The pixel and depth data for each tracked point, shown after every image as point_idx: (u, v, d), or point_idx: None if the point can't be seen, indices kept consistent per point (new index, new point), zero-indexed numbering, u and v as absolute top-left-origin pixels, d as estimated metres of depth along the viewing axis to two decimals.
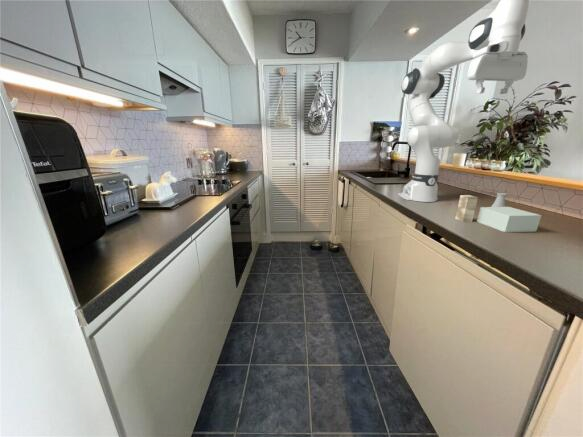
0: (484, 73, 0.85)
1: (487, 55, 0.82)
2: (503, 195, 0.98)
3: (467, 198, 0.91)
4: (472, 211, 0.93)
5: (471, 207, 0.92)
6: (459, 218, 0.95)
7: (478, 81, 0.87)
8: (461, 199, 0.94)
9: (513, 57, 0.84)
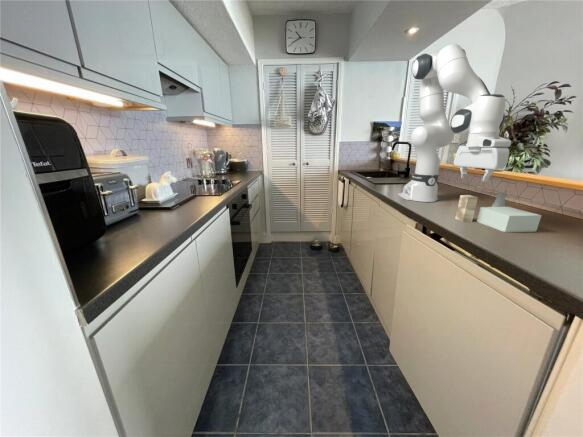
0: None
1: None
2: (503, 195, 0.98)
3: (467, 198, 0.91)
4: (472, 211, 0.93)
5: (471, 207, 0.92)
6: (459, 218, 0.95)
7: (491, 171, 0.83)
8: (461, 199, 0.94)
9: None
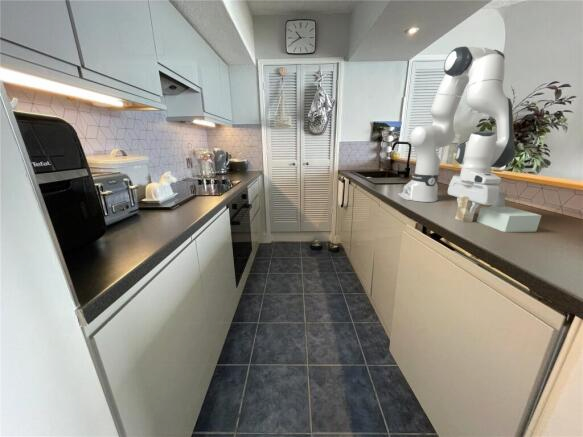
0: None
1: None
2: (503, 195, 0.98)
3: (467, 198, 0.91)
4: None
5: None
6: (459, 218, 0.95)
7: (477, 203, 0.89)
8: (461, 199, 0.94)
9: None
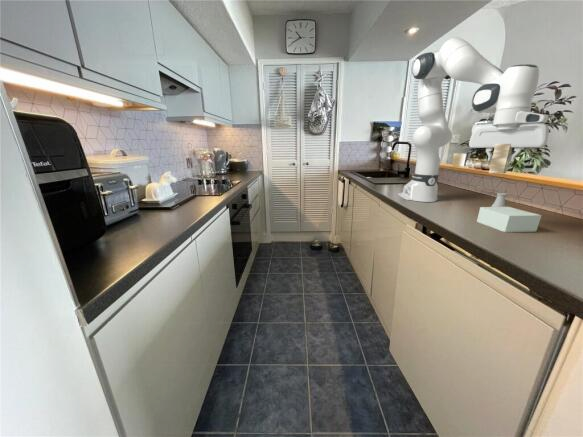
0: None
1: None
2: (503, 195, 0.98)
3: (508, 145, 0.79)
4: None
5: None
6: (497, 170, 0.82)
7: (520, 149, 0.79)
8: (497, 148, 0.81)
9: None
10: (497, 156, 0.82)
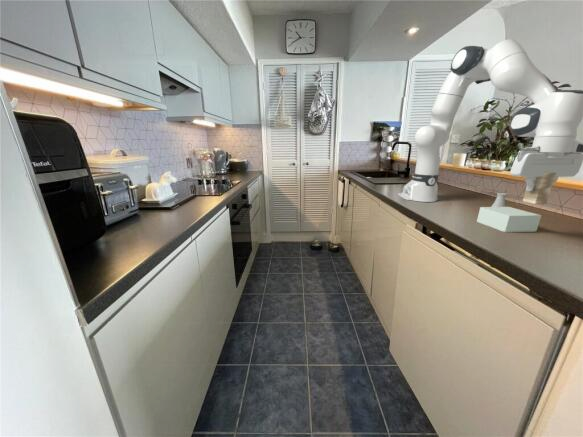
0: None
1: None
2: (503, 195, 0.98)
3: (554, 174, 0.74)
4: None
5: None
6: (542, 201, 0.77)
7: None
8: (546, 177, 0.74)
9: None
10: (544, 186, 0.75)
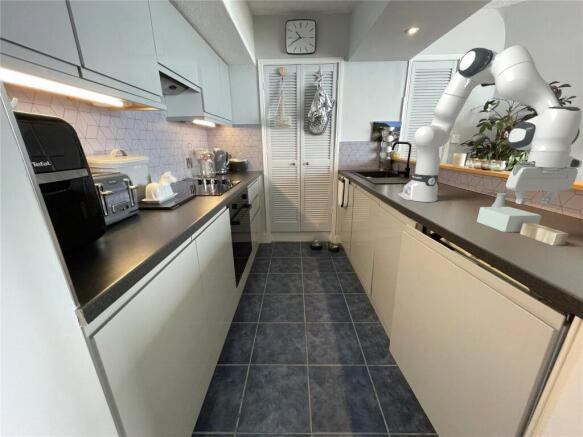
0: None
1: None
2: (503, 195, 0.98)
3: None
4: None
5: None
6: None
7: None
8: None
9: None
10: None
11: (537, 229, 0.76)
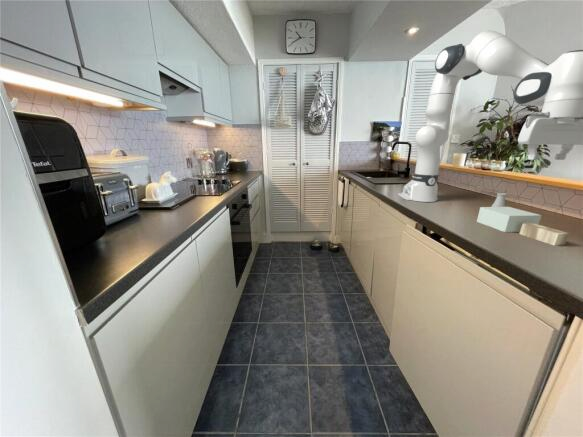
0: None
1: None
2: (503, 195, 0.98)
3: None
4: None
5: None
6: None
7: None
8: None
9: None
10: None
11: (537, 229, 0.76)
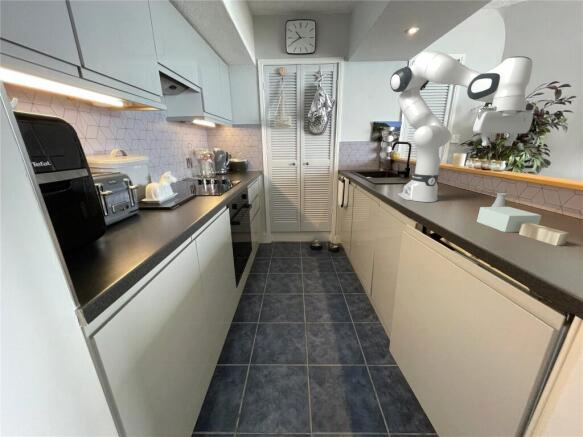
0: None
1: None
2: (503, 195, 0.98)
3: None
4: None
5: None
6: None
7: None
8: None
9: None
10: None
11: (538, 229, 0.76)
